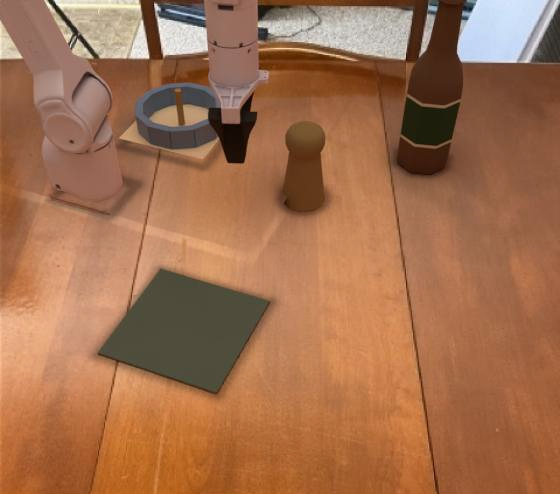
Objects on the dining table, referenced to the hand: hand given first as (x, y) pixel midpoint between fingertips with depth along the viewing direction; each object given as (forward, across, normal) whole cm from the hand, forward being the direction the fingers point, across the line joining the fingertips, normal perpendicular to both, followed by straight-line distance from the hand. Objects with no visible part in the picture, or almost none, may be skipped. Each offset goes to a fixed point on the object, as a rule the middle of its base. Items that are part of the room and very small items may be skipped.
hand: (237, 143), depth 86 cm
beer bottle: (+10, +12, -26) cm, 30 cm away
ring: (+8, +18, +10) cm, 22 cm away
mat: (+10, -23, +5) cm, 25 cm away
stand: (+10, +18, +10) cm, 23 cm away
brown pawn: (+10, +2, -9) cm, 13 cm away
